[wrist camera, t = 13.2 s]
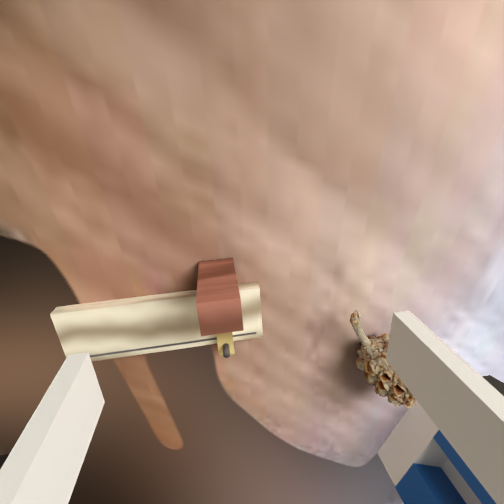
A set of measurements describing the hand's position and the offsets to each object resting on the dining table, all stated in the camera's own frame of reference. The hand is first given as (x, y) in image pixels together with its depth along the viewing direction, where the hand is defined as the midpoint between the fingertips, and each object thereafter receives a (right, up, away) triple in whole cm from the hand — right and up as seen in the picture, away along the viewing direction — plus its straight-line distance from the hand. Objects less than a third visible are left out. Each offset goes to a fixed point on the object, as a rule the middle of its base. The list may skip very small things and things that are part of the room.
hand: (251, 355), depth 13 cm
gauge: (-5, -3, +34) cm, 35 cm away
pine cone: (+21, -11, +42) cm, 48 cm away
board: (-14, -6, +34) cm, 38 cm away
